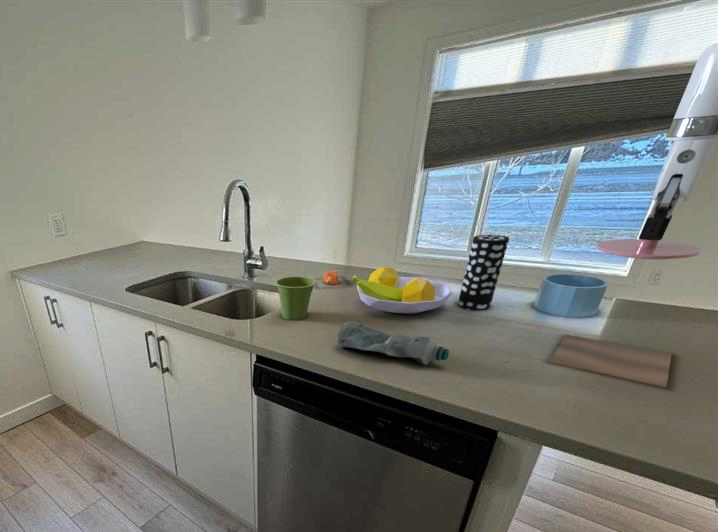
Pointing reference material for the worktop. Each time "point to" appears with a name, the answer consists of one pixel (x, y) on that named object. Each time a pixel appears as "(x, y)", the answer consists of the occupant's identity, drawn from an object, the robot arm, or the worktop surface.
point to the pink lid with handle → (648, 249)
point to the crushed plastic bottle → (390, 343)
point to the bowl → (570, 295)
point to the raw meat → (331, 278)
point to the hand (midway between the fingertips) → (650, 237)
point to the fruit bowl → (401, 292)
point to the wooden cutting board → (614, 360)
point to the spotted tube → (482, 271)
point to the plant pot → (295, 296)
